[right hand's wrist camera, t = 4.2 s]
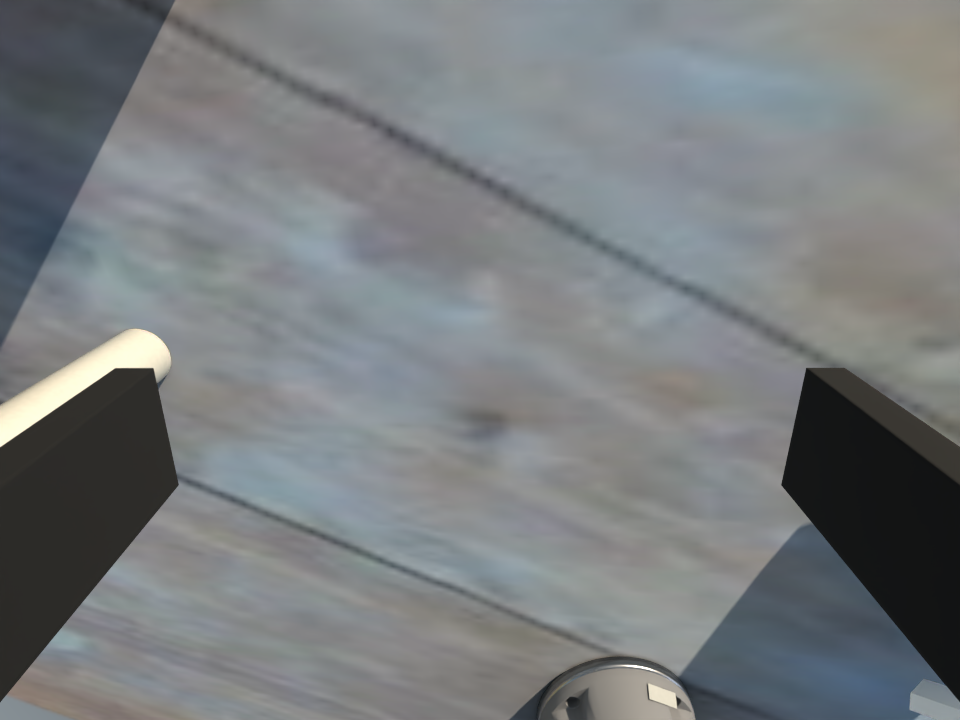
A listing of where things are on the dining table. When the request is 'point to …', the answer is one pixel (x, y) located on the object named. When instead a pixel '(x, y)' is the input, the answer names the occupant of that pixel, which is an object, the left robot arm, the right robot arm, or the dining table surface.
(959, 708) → the white plastic object
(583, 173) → the dining table surface
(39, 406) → the bottle
